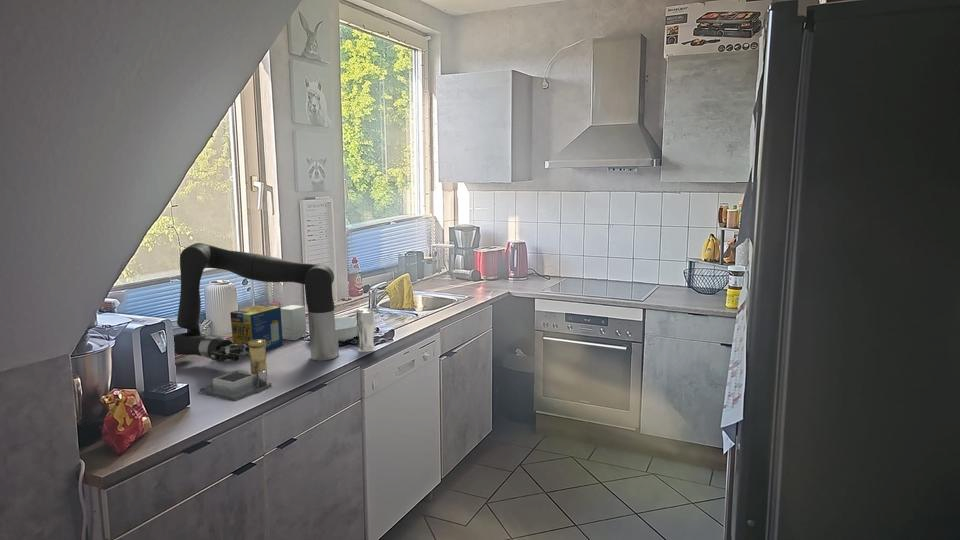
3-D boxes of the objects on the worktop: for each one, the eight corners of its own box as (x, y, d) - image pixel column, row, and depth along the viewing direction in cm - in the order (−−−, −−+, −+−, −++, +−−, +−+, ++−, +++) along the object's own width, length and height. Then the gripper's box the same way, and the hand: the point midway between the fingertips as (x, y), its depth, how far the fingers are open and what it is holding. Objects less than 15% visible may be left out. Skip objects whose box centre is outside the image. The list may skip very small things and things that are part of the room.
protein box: (232, 352, 239) (229, 312, 236) (264, 342, 252) (261, 303, 250) (253, 356, 234) (249, 314, 232) (284, 345, 248) (281, 306, 245)
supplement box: (307, 336, 260) (305, 306, 258) (293, 341, 254) (291, 309, 252) (294, 334, 264) (292, 304, 262) (280, 338, 257) (278, 307, 255)
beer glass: (353, 350, 239) (351, 310, 237) (368, 346, 244) (367, 307, 242) (364, 353, 234) (362, 313, 232) (379, 349, 239) (377, 310, 237)
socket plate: (236, 378, 209) (235, 364, 208) (271, 386, 201) (270, 371, 200) (199, 392, 197) (197, 376, 196) (234, 400, 189) (233, 384, 188)
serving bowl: (370, 332, 264) (370, 316, 263) (356, 347, 244) (355, 329, 243) (321, 332, 266) (320, 316, 265) (303, 346, 246) (302, 329, 245)
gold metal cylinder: (260, 373, 215) (257, 338, 213) (272, 375, 212) (269, 340, 210) (246, 377, 210) (243, 342, 208) (258, 380, 207) (256, 344, 205)
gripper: (196, 342, 213) (230, 348, 205) (232, 332, 225) (264, 338, 217) (199, 364, 214) (232, 371, 206) (234, 353, 227) (266, 359, 219)
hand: (248, 354), depth 212 cm, fingers open, 8 cm apart
